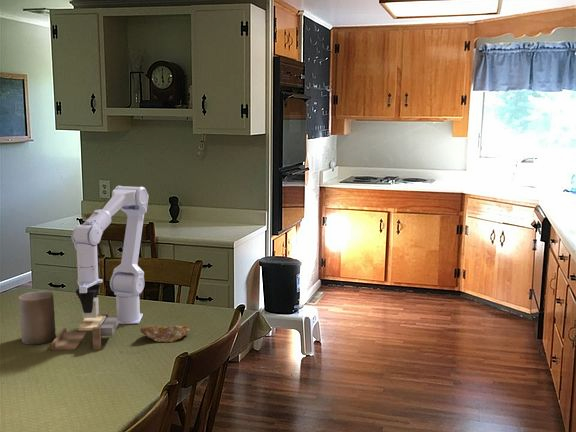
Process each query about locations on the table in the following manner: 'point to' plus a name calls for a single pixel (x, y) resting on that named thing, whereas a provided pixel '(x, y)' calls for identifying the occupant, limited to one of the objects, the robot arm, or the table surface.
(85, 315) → the stone block
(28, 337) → the pillar candle
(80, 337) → the frame
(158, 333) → the decorative stone
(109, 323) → the trapdoor
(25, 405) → the table surface
